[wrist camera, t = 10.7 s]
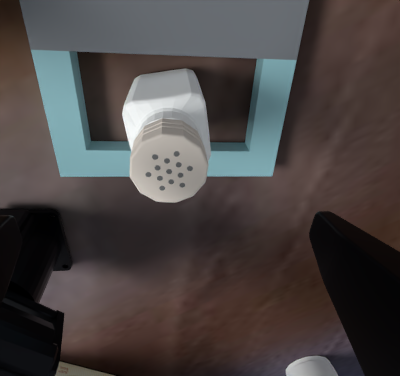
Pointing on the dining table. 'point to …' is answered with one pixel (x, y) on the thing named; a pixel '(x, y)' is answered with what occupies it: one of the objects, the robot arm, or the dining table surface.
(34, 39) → the panel
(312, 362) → the foam cup
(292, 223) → the dining table surface
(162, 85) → the white salt shaker
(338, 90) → the dining table surface
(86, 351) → the dining table surface
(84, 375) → the coffeecake box
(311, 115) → the dining table surface
